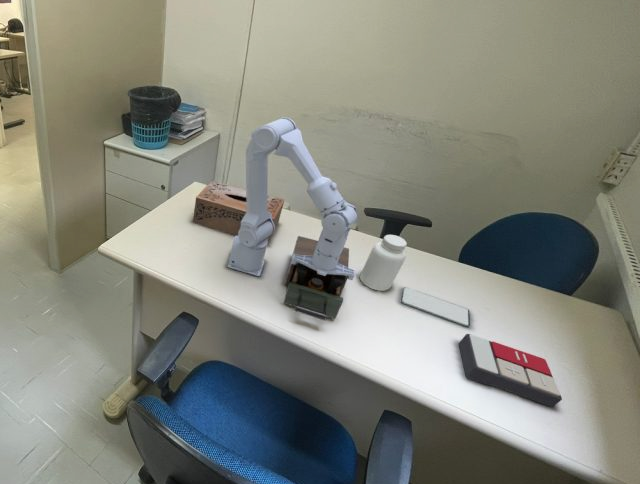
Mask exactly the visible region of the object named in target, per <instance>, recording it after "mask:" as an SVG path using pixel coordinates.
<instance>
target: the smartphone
mask: <svg viewBox="0 0 640 484" xmlns="http://www.w3.org/2000/svg"><path fill="white" fill-rule="evenodd" d="M401 303H402V304H404V305H407V306H409V307H412V308H414V309H418V310H420V311H424V312H427V313H429V314H431V315H434V316H437V317H440V318H443V319H445V320H448V321H450V322H454V323H456V324H459V325H462V326H464V327H470V326H471V315H470V314H471V313H470V310H469V309H468V308H466V307H463V306H460V305H457V304H454V303H452V302H448V301H446V300H443V299H440V298H438V297H434V296H431V295H429V294H427V293H423V292H419V291H417V290H415V289H411V288H408V287H403V289H402V294H401Z"/></svg>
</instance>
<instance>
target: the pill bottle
mask: <svg viewBox="0 0 640 484" xmlns="http://www.w3.org/2000/svg"><path fill="white" fill-rule="evenodd" d="M407 245H408V244H407V241H406V239H404V238H403V237H401V236H398V235H395V234H386V235H384V236H383V239H382V240H381V241H378V242H376V243H375V244H374V245H373V246H372V248H371V251H370V252H369V254H368V256H367V259H366V261H365V263H364V266H363V267H362V269H361V272H360V274H359V279H360V282H362V283H363V284H364V285H365V286H366V287H368V288H370V289H371V290H374V291H379V292H384V291H387V290H390V288H391V287H392V285H393V283H394V281H395V280H396V279H397V276H398V274H399V272H400V271H401V269H402V266H403V265H404V262H405V261H406V259H407V252H406V251H405V249H406V248H407Z"/></svg>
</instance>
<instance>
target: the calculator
mask: <svg viewBox="0 0 640 484" xmlns="http://www.w3.org/2000/svg"><path fill="white" fill-rule="evenodd" d="M458 346H459V351H460V354H461V361H462V366H463V369H464V374H465V377H466V378H467V379H468V380H472V381H475V382H476V383H480V384H482V385H485V386H494V387H495V388H499V389H501V390H504V391H507V392H510V393H511V394H514V395H515V394H516V395H518V396H520V397H523V398H526V399H529V400H531V401H533V402H537V403H538V404H542V405H545V406H547V407H550V408H554V407H555V406H556V405H557V404H558V403H560V402H561V401H562V400H563V398H562V395H561V393H560V390H559V388H558V385H557V383H556V380H555V378H554V377H553V374H552V372H551V370H550V369H551V368H550V366H549V364H548V362H547V360H546V359H545V358H543V357H540V356H538V355H535V354H532V353H528V352H526V351H522V350H519V349H517V348H514V347H511V346H508V345H504V344H503V343H499V342H496V341H492V340H488V339H486V338H482V337H480V336H477V335H475V334H470V333H466V334H465V335H463V337H462V338H461V339H460V340H459V342H458Z"/></svg>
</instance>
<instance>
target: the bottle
mask: <svg viewBox="0 0 640 484" xmlns="http://www.w3.org/2000/svg"><path fill="white" fill-rule="evenodd" d="M307 287H308V288H311V289H314V290H318V291H322V289H323V282H322V280H320V279H318V278H312V279H311V280H310V281H309V283H308V285H307Z"/></svg>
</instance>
